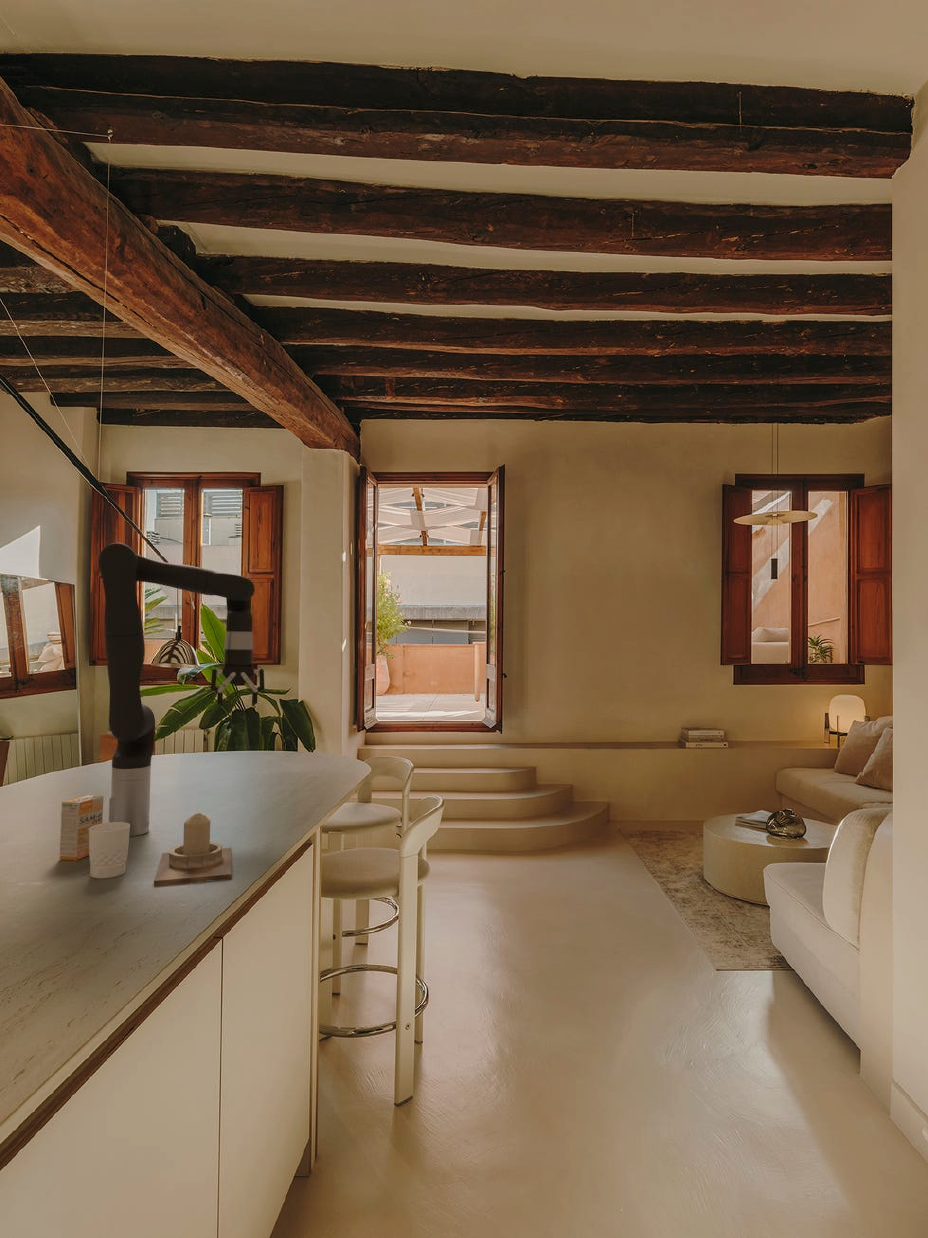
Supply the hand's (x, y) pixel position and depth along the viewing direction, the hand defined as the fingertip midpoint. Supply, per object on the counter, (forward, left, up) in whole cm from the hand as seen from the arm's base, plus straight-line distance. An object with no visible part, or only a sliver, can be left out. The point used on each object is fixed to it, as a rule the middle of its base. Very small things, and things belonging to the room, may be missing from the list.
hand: (237, 706), depth 195 cm
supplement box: (-34, -22, -32) cm, 52 cm away
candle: (-8, -37, -31) cm, 49 cm away
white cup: (-26, -38, -32) cm, 56 cm away
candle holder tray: (-8, -39, -32) cm, 51 cm away
